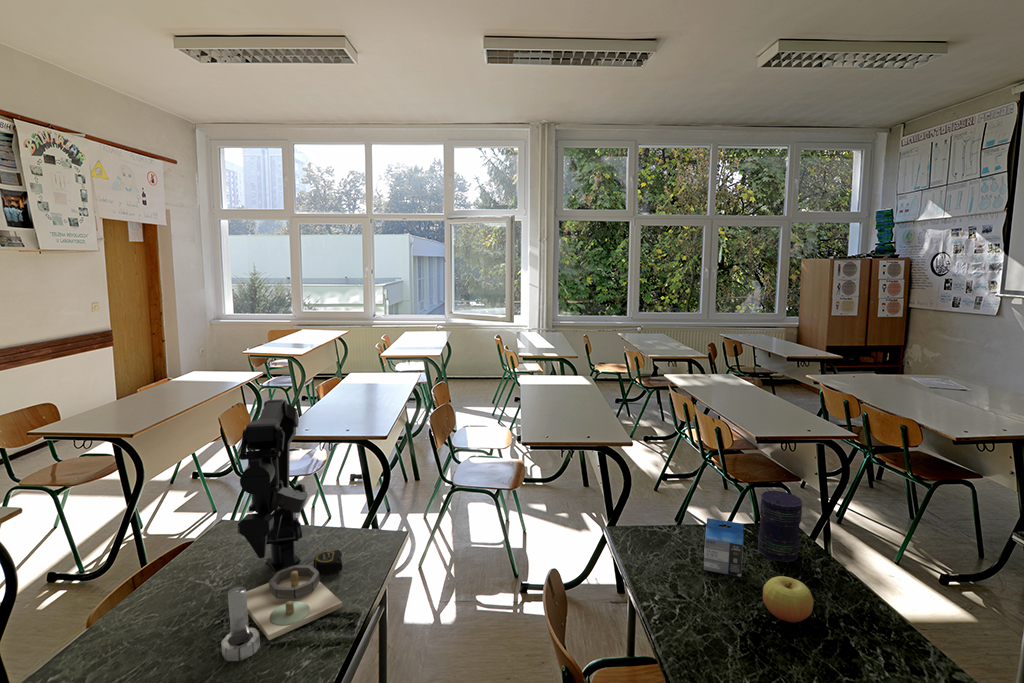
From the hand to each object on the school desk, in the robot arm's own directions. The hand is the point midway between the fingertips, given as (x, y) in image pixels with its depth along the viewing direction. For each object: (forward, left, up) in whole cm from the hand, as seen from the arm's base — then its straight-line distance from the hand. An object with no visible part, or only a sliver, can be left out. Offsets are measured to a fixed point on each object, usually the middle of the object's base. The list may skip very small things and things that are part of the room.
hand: (268, 548), depth 125 cm
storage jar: (+69, +106, -13) cm, 127 cm away
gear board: (+3, +3, -13) cm, 14 cm away
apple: (+81, +80, -13) cm, 115 cm away
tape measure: (-4, +16, -14) cm, 22 cm away
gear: (+11, -10, -13) cm, 20 cm away
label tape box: (+63, +87, -13) cm, 108 cm away
